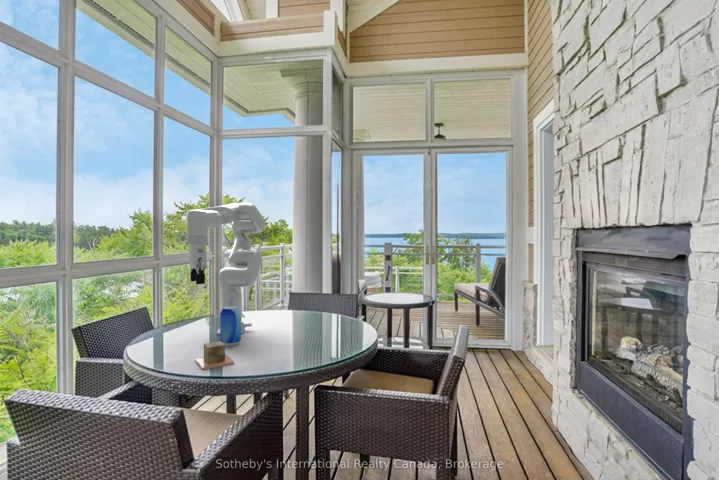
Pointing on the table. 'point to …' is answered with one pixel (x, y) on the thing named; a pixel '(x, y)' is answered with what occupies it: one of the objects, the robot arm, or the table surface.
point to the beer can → (230, 325)
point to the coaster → (204, 365)
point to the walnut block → (214, 352)
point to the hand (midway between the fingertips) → (197, 282)
